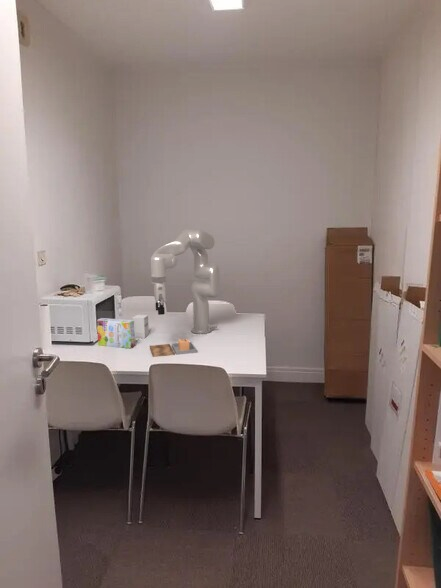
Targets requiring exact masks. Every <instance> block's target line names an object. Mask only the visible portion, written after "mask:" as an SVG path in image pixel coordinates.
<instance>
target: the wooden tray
mask: <svg viewBox="0 0 441 588" xmlns="http://www.w3.org/2000/svg"><path fill="white" fill-rule="evenodd" d="M149 350H150V354H151V357H152V358H156V357H157V358H158V357H166V356H167V357H168V356H175V352H174V350H173V348H172V344H170V343H166V344H165V343H163V344H155V345H154V344H153V345H149Z"/></svg>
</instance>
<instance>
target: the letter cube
mask: <svg viewBox="0 0 441 588" xmlns="http://www.w3.org/2000/svg"><path fill="white" fill-rule="evenodd" d="M189 342H190V340H189V339H188V338H185V339H184V338H183V339H178V340H177V343H178V347H179V350H180V351H183V350H189Z"/></svg>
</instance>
